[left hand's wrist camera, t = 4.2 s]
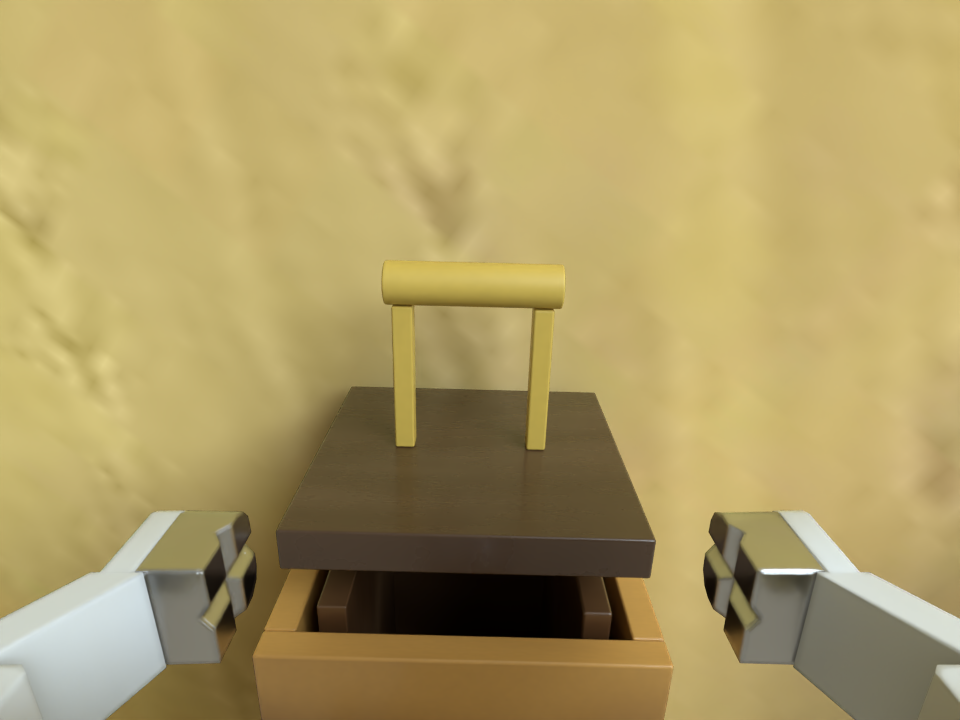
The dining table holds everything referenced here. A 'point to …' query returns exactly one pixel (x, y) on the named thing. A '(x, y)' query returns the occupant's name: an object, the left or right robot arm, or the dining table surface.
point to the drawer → (468, 487)
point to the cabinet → (459, 667)
